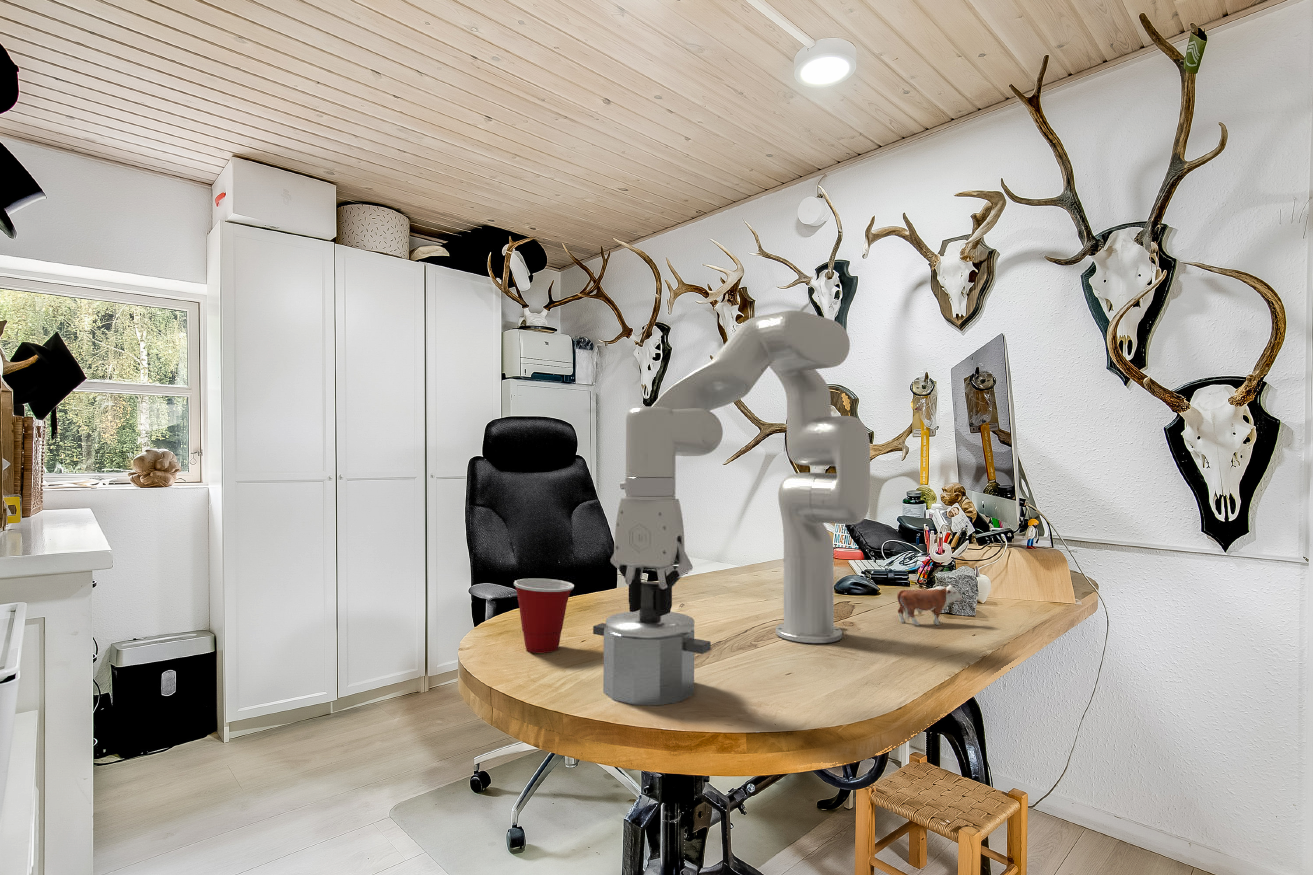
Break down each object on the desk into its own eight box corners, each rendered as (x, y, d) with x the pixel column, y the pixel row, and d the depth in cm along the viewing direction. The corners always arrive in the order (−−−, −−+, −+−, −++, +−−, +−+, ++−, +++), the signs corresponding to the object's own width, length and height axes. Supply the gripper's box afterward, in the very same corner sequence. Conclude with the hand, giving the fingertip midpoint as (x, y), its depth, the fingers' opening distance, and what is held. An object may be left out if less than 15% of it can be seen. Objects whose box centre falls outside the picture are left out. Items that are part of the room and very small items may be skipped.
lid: (636, 619, 106) (637, 572, 106) (709, 630, 99) (709, 580, 100) (587, 637, 95) (588, 585, 95) (665, 651, 88) (666, 595, 88)
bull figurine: (964, 626, 135) (964, 586, 135) (900, 626, 135) (900, 586, 135) (954, 621, 139) (954, 582, 140) (892, 621, 139) (892, 582, 139)
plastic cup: (578, 654, 113) (579, 585, 114) (515, 659, 110) (515, 588, 111) (569, 638, 124) (569, 574, 124) (510, 642, 121) (511, 577, 121)
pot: (621, 665, 107) (622, 610, 108) (727, 687, 97) (727, 626, 98) (570, 689, 96) (570, 627, 97) (683, 716, 86) (683, 648, 86)
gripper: (590, 488, 99) (589, 610, 98) (686, 491, 90) (686, 625, 90) (619, 487, 105) (618, 601, 105) (711, 490, 97) (711, 614, 96)
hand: (649, 610), depth 97 cm, fingers open, 4 cm apart
